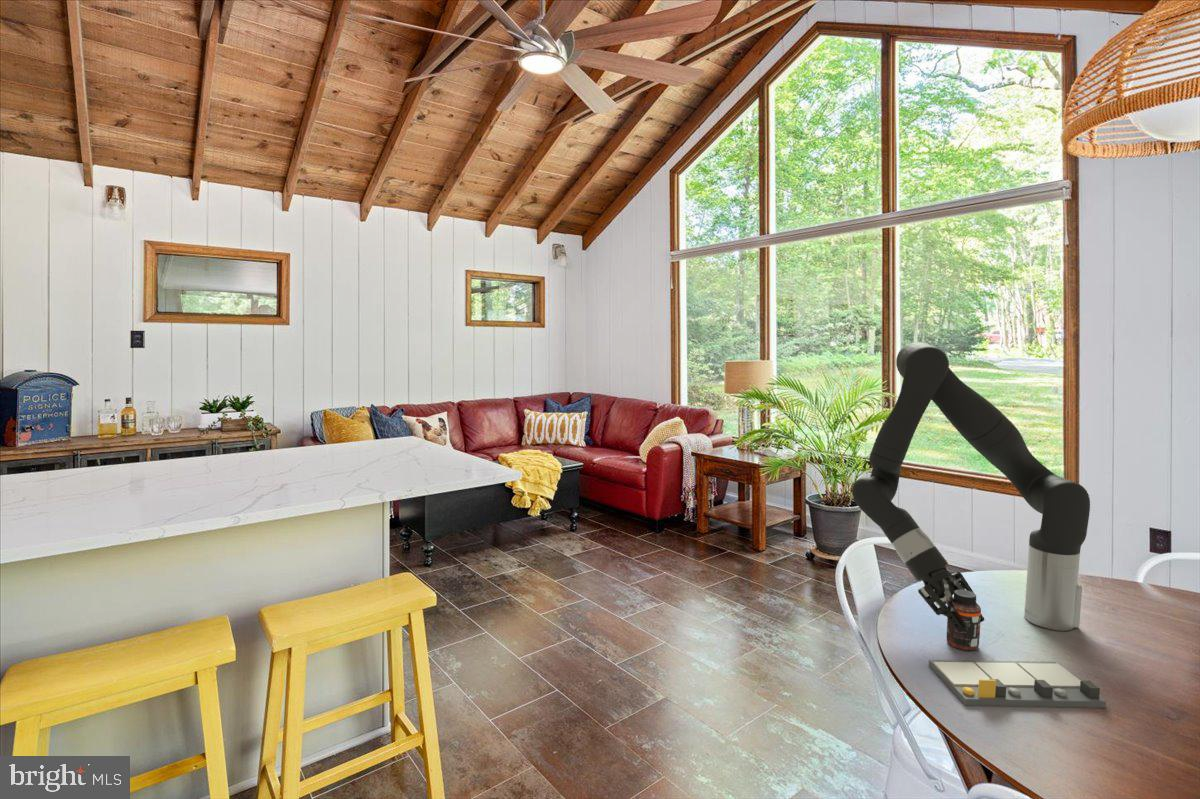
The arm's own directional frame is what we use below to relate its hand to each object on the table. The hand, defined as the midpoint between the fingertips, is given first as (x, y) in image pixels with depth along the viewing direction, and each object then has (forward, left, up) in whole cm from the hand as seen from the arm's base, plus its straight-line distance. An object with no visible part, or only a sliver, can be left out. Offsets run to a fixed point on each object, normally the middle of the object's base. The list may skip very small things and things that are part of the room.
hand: (972, 626), depth 127 cm
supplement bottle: (+1, -1, -5) cm, 5 cm away
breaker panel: (0, +14, -5) cm, 14 cm away
